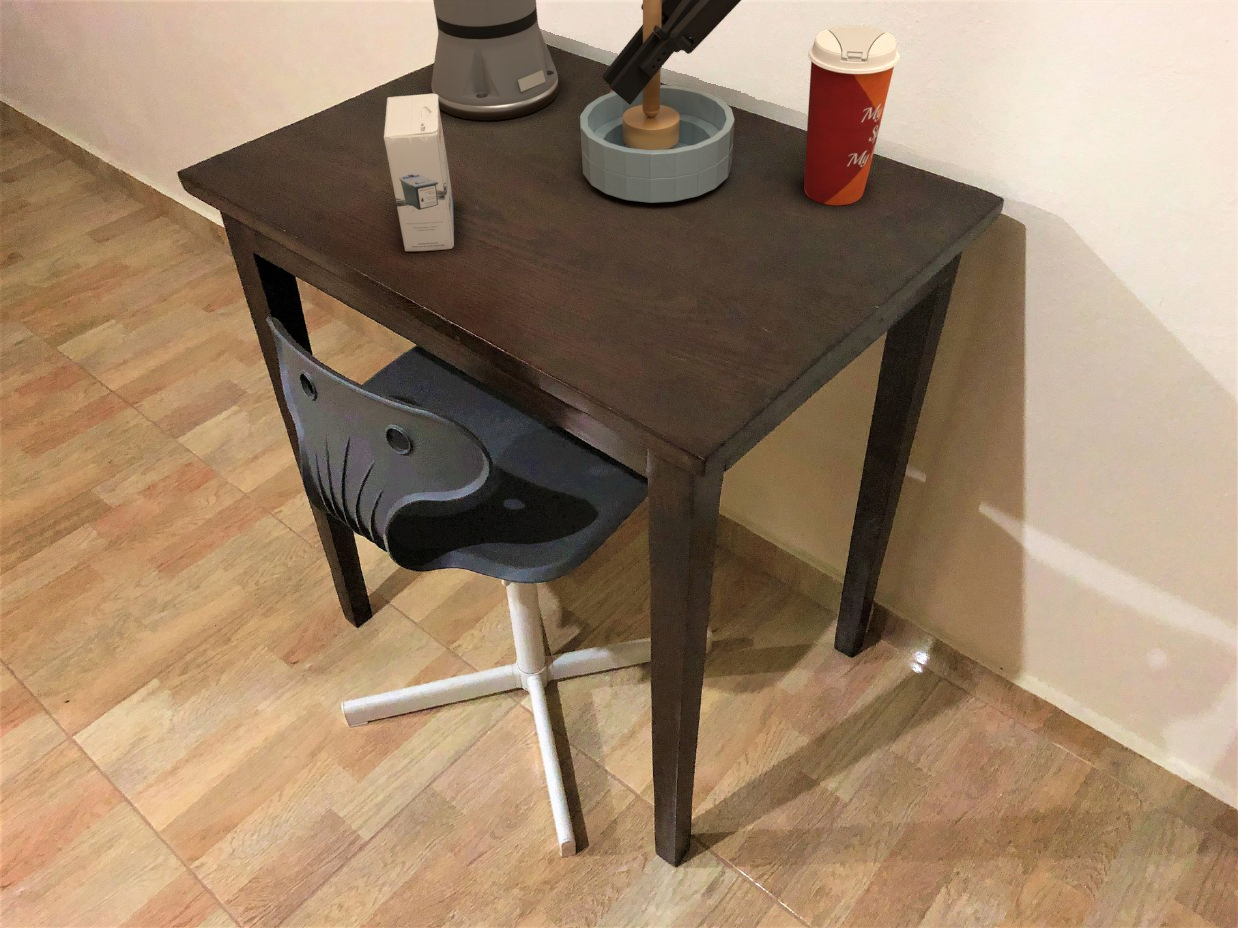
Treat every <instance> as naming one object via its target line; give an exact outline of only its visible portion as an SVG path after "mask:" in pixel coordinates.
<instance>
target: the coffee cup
mask: <svg viewBox="0 0 1238 928" xmlns="http://www.w3.org/2000/svg"><path fill="white" fill-rule="evenodd" d="M807 56H808V57H807V58H808V59H809V60H810V73H809V74H810V76H809V77H810V78H809V93H808V110H807V123H806V125H807V126H806V141H805V142H806V143H805V158H804V159H805V160H804V180H803V181H804V183H803V184H804V185H803V186H804V189H803V190H804V193H805V195H806V196H807V197H808V198H809V199H811V200H812V201H813V202H816V203H819V204H822V205H827V206H828V205H829V206H845V205H846V206H847V205H851V204H854V203H856V202H857V201H859V200H860V199H861V198H862V197H863V195H864V192H865V188H866V185H867V182H868V177H869V173H870V169H871V165H872V160H873V157H874V153H875V148H876V144H877V140H878V137H879V136H878V135H879V133H880V132H879V131H880V127H881V123H882V119H883V116H884V110H885V107H886V103H887V98H888V94H889V89H890V85H891V80H892V77H893V73H894V68H895V67H896V66H897V64H899V62H900V53H899V51H898V43H897V39H896V37H895V36H893V35H892V34H891V33H890V32H888V31H885V30H882V29H879V28H876V27H873V26H872V27H871V26H866V25H840V26H834V27H829V28H825V29H824V30H822V31H820V32H819V33H818V34H817V35H816V36H815V38H814V41H813V44H812V45H811V47H809V50H808V52H807Z"/></svg>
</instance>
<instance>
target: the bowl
mask: <svg viewBox="0 0 1238 928" xmlns="http://www.w3.org/2000/svg"><path fill="white" fill-rule="evenodd" d="M639 105H643V90H642V91H641V92H640V94H639V95H638V96H637V97H636V99H635V100H634V101H633V102H632V103H631V105H629V104H628V103H627V102H626V101H625V100H624V99H622V98H621V97H620V96H619V95H618V94H616V93H615V92H612V93H610V92H608V93H606V94H603V95H601V96H599V97H598V98H596V99H595V100H593V101H591V102H590V103H588V104H587V105H586V106H585V108H584V110H583V111H582V112H581V114H580V116H579V127H580V144H581V145H580V146H581V147H580V148H581V159H582V160H581V161H582V174H583V176H584V177H585V179H586V180H587V181H588V182H589V184H590V185H591V186H592V187H594V188H596V189H597V190H599V191H600V192H602V193H604V195H608V196H612V197H615V198H618V199H621V200H625V201H631V202H640V203H641V202H642V203H648V204H650V203H651V204H653V203H674V202H678V201H684V200H687V199H691V198H696V197H700V196H702V195H704V194H707V193H708V192H710V191H713V190H716V189H717V188H718V187H719V186H720V185H721V184H722V183H723V182H725V181H726V180H727V179H728V177H729V175H730V172H731V169H732V165H733V151H734V150H733V149H734V137H735V135H734V134H735V120H736V119H735V116H734V113H733V110H732V108H731V106H730V105H728V104H727V103H726V102H725V101H724V100H723V99H721V98H720V97H717V96H715V95H713V94H711V93H709V92H706V91H704V90H699V89H695V88H692V87H688V86H683V85H682V86H681V85H669V84H660V105H664V106H668V107H671V108H673V109H675V110H676V111H677V112H678V113H679V115H680V132H679V141H678V143H677V144H676V145H674V146H673V147H671V148H668V149H665V150H642V149H633V148H631V147H629V146H627V145H626V144H625V143H624V141H623V128H622V117H623V114H624V112H625V111H627V110H628V109H630V108H632V107H635V106H639Z"/></svg>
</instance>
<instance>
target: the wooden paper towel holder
mask: <svg viewBox="0 0 1238 928" xmlns="http://www.w3.org/2000/svg"><path fill="white" fill-rule="evenodd" d="M642 4H643V10H642V25H643V43H644V42H645V41H646V39H647V38H648V37H649V36H650V34H651V33H652V32H654V31H653V29H654V27H655V25H656V26H658V27H659V28H661V17H662V0H642ZM654 33H655V32H654ZM655 34H656V33H655ZM656 35H657V34H656ZM657 36H658V35H657ZM658 37H659V36H658ZM659 38H660V37H659ZM661 70H662V67H661V68H660V69H659V71H658V72H657V73H656V74H655V75H654V76H653V78H652V79H651V80H650V81H649V83H648V84H647V85H646V86H645V87H644V89H643V105H639V106H635V107H632V108H630V109H628V110H627V111H625V112H624V114H623V117H622V128H623V141H624V143H625V144H626V145H627V146H629V147H631V148H633V149H642V150H665V149H668V148H671V147H673V146H674V145H676V144H677V143H678V141H679V132H680V115H679V113H678V112H677V111H676V110H675V109H673V108H671V107H668V106H664V105H660V85H661V77H662V76H661V75H662V74H661V72H662V71H661Z"/></svg>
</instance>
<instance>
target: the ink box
mask: <svg viewBox="0 0 1238 928" xmlns="http://www.w3.org/2000/svg"><path fill="white" fill-rule="evenodd" d="M385 109H386V110H385V120H384V121H385V122H384V131H383V141H384V146H385V151H386V156H387V161H388V165H389V166H388V167H389V173H390V177H391V182H392V188H393V192H394V198H395V203H396V209H397V215H398V220H399V226H400V231H401V236H402V242H403V246H404V251H405V252H427V251H441V250H452V249H453V248H454V247H455V224H454V221H455V219H454V218H455V217H454V216H455V215H454V197H453V191H452V184H451V183H452V182H451V178H450V170H449V163H448V156H447V151H446V142H445V136H444V131H443V124H442V118H441V112H440V110H441V109H440V108H439V104H438V95H437V94H433V93H423V94H412V95H410V94H409V95H399V96H389V97H387V98H386V108H385Z"/></svg>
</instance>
